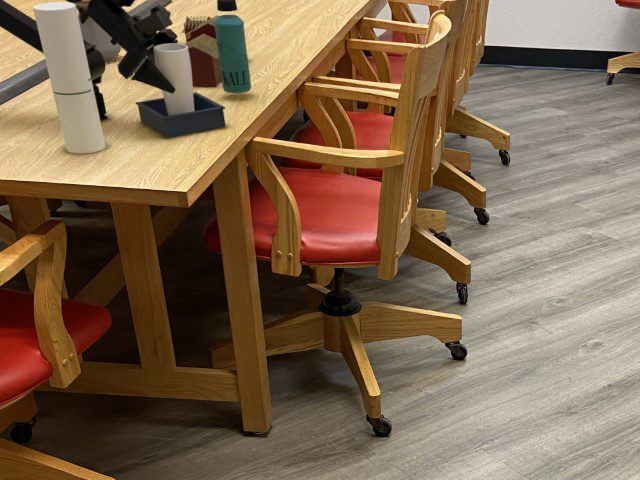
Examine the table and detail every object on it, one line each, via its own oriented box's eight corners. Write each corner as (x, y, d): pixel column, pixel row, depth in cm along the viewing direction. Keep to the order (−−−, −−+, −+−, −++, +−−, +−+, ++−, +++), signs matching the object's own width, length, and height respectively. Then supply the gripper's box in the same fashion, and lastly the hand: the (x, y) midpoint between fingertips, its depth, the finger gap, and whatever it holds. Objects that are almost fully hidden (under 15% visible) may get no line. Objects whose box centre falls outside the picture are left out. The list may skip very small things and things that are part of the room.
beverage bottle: (240, 90, 220) (227, -6, 208) (259, 96, 217) (248, -2, 205) (217, 96, 216) (203, -2, 204) (236, 102, 213) (223, 3, 201)
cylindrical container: (109, 141, 190) (80, 2, 175) (99, 153, 184) (68, 10, 169) (73, 141, 190) (40, 1, 175) (61, 153, 184) (27, 10, 169)
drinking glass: (204, 120, 202) (192, 43, 193) (193, 130, 196) (181, 51, 187) (173, 119, 202) (159, 42, 193) (161, 128, 197) (147, 50, 188)
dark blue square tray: (166, 139, 192) (162, 118, 189) (139, 122, 200) (135, 102, 198) (227, 127, 199) (225, 107, 196) (199, 111, 207) (196, 92, 204)
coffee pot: (78, 54, 244) (63, -12, 235) (125, 52, 246) (113, -13, 237) (67, 76, 227) (51, 6, 218) (117, 74, 229) (104, 5, 220)
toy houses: (228, 87, 222) (222, 39, 216) (138, 86, 222) (129, 38, 216) (259, 41, 258) (254, -1, 252) (182, 40, 258) (175, -2, 252)
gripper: (120, 2, 178) (188, 68, 183) (159, -16, 192) (221, 45, 198) (89, 46, 183) (156, 109, 189) (129, 25, 198) (190, 84, 203)
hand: (182, 85), depth 195 cm, fingers open, 9 cm apart
